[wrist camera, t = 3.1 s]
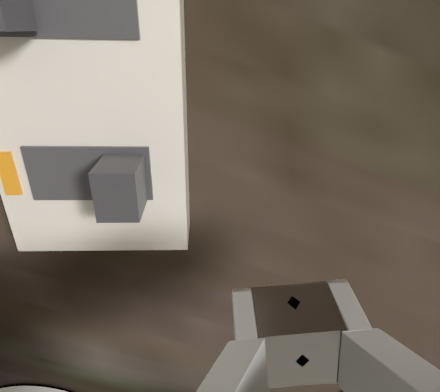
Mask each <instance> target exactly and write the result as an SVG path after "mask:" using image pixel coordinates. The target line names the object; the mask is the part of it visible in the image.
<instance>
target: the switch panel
mask: <svg viewBox="0 0 440 392" xmlns="http://www.w3.org/2000/svg"><path fill="white" fill-rule="evenodd" d="M32 4H33V9H34V14H35V19H36V24H37V29H38V31H18V32H0V194H1V198H2V201H3V204H4V207H5V210H6V214H7V217H8V220H9V223H10V226H11V230H12V233H13V236H14V239H15V242H16V246H17V249H18V251H106V250H188V240H189V228H190V212H189V176H188V140H187V104H186V68H185V32H184V0H32ZM104 154H144V160H145V171H146V182H147V193H148V200H147V203H146V206H145V209H144V212H143V214H142V217H141V220H140V223H97V222H96V217H95V211H94V205H93V199H92V194H91V188H90V182H89V176H88V173H89V172H90V171H91V169H92V168H93V167H94V166H95V164H96V163H97V162H98V161H99V159H100V158H101V157H102V156H103V155H104Z"/></svg>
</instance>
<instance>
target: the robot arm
mask: <svg viewBox="0 0 440 392" xmlns="http://www.w3.org/2000/svg"><path fill="white" fill-rule="evenodd" d="M232 306H233V323H234V339H235V341H229V342H228V343H227V345H226V346H225V348H224V349H223V351H222V352H221V354H220V355H219V357H218V359H217V360H216V362H215V363H214V365H213V366H212V368H211V369H210V371H209V372H208V374H207V375H206V377H205V379H204V380H203V382H202V383H201V385H200V386H199V388H198V389H197V391H196V392H268V391H269V389H271V388H280V387H289V386H298V385H312V384H331V383H338V384H337V385H338V386H339V387H340V388H341V389H342V390H343V392H440V370H439V369H437V368H436V367H435V366H433V365H432V364H430V363H429V362H427V361H426V360H424V359H423V358H421V357H420V356H418V355H417V354H416V353H414V352H413V351H411V350H410V349H408V348H407V347H405V346H404V345H402V344H401V343H399V342H398V341H397V340H395V339H394V338H392V337H391V336H389V335H388V334H386V333H385V332H383V331H382V330H380V329H379V328H373V329H372V327H371V325H370V323H369V321H368V320H367V318H366V316H365V314H364V312H363V310H362V308H361V306H360V304H359V302H358V300H357V298H356V296H355V295H354V293H353V291H352V289H351V287H350V285H349V283H348V281H347V280H345V279H338V280H329V281H321V282H311V283H301V284H291V285H281V286H267V287H252V288H244V289H232ZM0 392H67V391H63V390H59V389H54V388H48V387H41V386H12V387H5V388H0Z"/></svg>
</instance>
